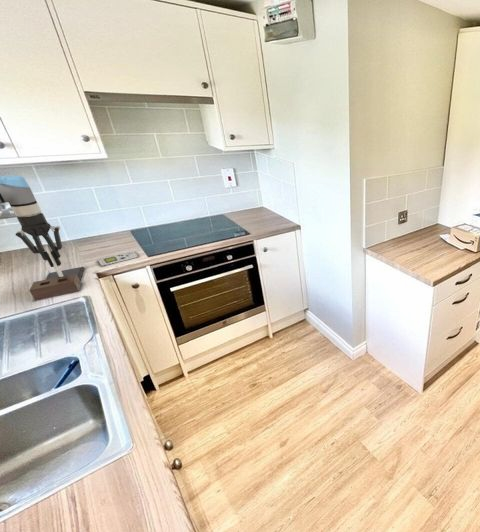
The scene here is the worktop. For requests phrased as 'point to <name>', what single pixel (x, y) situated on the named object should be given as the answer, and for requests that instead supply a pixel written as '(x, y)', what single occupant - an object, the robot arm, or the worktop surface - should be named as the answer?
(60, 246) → the robot arm
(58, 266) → the stylus
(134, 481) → the worktop surface
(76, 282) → the slotted brown block
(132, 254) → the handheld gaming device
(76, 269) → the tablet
